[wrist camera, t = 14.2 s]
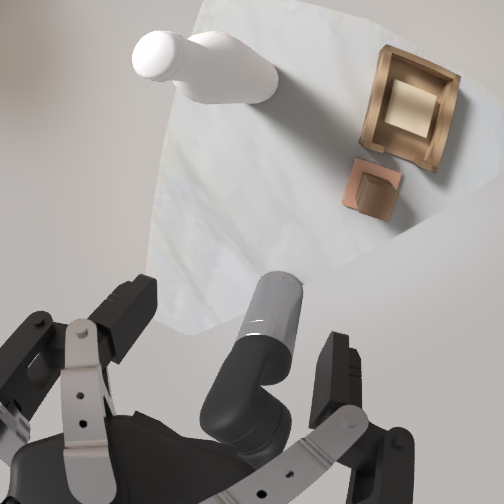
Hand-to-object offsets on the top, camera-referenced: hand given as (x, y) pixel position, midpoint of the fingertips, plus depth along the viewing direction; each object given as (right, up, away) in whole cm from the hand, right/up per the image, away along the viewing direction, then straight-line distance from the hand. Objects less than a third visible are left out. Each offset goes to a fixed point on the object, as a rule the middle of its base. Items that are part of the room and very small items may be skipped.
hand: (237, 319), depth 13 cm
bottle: (+1, +30, +28) cm, 41 cm away
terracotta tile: (+20, +13, +32) cm, 40 cm away
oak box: (+24, +25, +24) cm, 43 cm away
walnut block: (+20, +13, +31) cm, 39 cm away
